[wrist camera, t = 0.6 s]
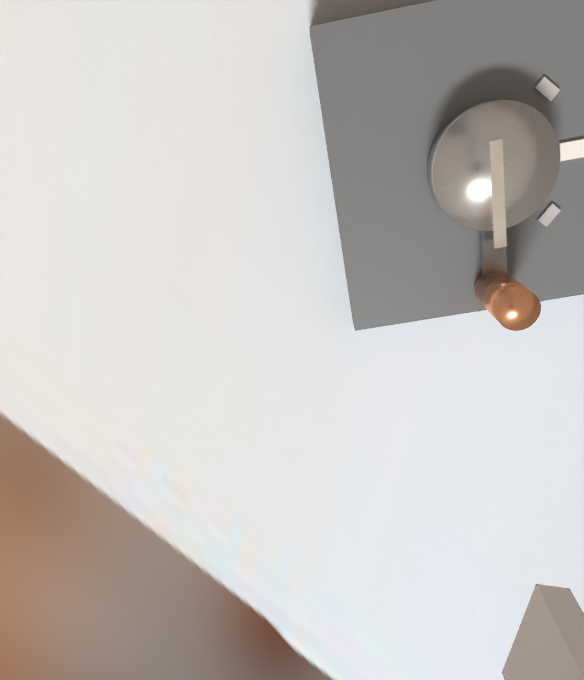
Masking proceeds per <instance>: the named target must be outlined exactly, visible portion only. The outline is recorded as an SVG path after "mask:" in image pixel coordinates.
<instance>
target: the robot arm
mask: <svg viewBox="0 0 584 680" xmlns="http://www.w3.org/2000/svg"><path fill="white" fill-rule="evenodd" d="M502 673H503V676H504V679H505V680H584V613H583V611H582V610H581V608H580V606H579V604H578V603H577V601H576V599H575V597H574V596H573V594H572V592H571V590H570V589H568V588H561V587H554V586H546V585H539V584H536V586H535V588H534V591H533V594H532V596H531V599H530V601H529V604H528V607H527V609H526V612H525V614H524V617H523V619H522V622H521V625H520V627H519V630H518V632H517V635H516V638H515V640H514V643H513V645H512V648H511V650H510V653H509V656H508V658H507V661H506V663H505V666H504V669H503V671H502Z"/></svg>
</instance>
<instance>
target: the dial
mask: <svg viewBox="0 0 584 680" xmlns="http://www.w3.org/2000/svg"><path fill="white" fill-rule="evenodd" d="M559 167H560V147H559V142H558V138H557V135H556V133H555V131H554V129H553V127H552V125H551V124H550V122H549V121H548V120H547V118H546V117H545V116H544V115H543V114H542V113H541V112H539V111H538V110H536V109H535V108H533V107H531V106H529V105H527V104H525V103H522V102H519V101H513V100H496V101H487V102H482V103H478V104H475V105H472V106H470V107H468V108H466V109H464V110H462V111H460V112H459V113H458V114H456V115H455V116H454V117H453V118H451V119H450V120H449V121H448V122H447V123H446V124H445V126H444V127H443V128H442V129H441V131H440V132H439V134H438V135H437V137H436V139H435V141H434V143H433V145H432V148H431V150H430V154H429V158H428V165H427V178H428V185H429V188H430V191H431V194H432V196H433V198H434V200H435V202H436V203H437V205H438V206H439V207H440V208H441V209H442V211H443V212H445V213H446V214H447V215H448V216H449V217H451V218H452V219H454V220H455V221H457V222H459V223H460V224H462V225H464V226H466V227H469V228H472V229H475V230H479V239H480V256H481V273H482V275H481V276H480V277H479V278H478V280H477V282H476V284H475V296H476V298H477V299H478V300H479V302H480V303H481V304H482V305H483V306H484V307H485V308H486V309H487V310H488V311H489V312H490V313H491V314H492V315H493V316H494V317H495V318H496V319H497V320H498V321H499V323H500V324H501V325H502V326H504V327H505V328H507V329H509V330H515V331H517V330H523V329H526V328H528V327H529V326H531V325H532V324H533V323H534V322H535V321H536V320H537V318H538V317H539V315H540V311H541V304H540V300H539V298H538V297H537V296H536V295H535V294H534V293H533V292H531V291H530V290H529V289H528V288H526V287H525V286H524V285H522V284H521V283H520V282H518V281H517V280H516V279H514V278H513V277H512V276H510V275H509V274H508V273H507V249H506V247H507V236H506V228H509V227H511V226H514V225H516V224H518V223H520V222H522V221H524V220H525V219H527V218H528V217H530V216H531V215H532V214H533V213H535V212H536V211H537V210H538V209H539V208H540V207H541V206H542V204H543V203H544V202H545V200H546V199H547V198H548V196H549V194H550V193H551V191H552V189H553V187H554V185H555V182H556V179H557V176H558V173H559Z"/></svg>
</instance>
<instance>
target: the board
mask: <svg viewBox="0 0 584 680" xmlns="http://www.w3.org/2000/svg"><path fill="white" fill-rule="evenodd" d="M310 37H311V44H312V50H313V57H314V64H315V70H316V77H317V84H318V91H319V97H320V104H321V111H322V117H323V124H324V131H325V137H326V144H327V151H328V158H329V164H330V171H331V178H332V184H333V191H334V198H335V204H336V211H337V218H338V224H339V231H340V238H341V245H342V251H343V258H344V265H345V271H346V278H347V285H348V291H349V298H350V305H351V312H352V318H353V323H354V328H355V331H356V330H362V329H368V328H375V327H381V326H387V325H393V324H400V323H406V322H412V321H418V320H425V319H431V318H437V317H444V316H450V315H456V314H462V313H469V312H475V311H481V310H487V309H486V308H485V307H484V306H483V305H482V304H481V303H480V302H479V300H478V299H477V298H476V296H475V284H476V282H477V280H478V278H479V277H480V276H481V275H482V273H481V256H480V239H479V230H475V229H472V228H469V227H466V226H464V225H462V224H460V223H459V222H457V221H455V220H454V219H452V218H451V217H449V216H448V215H447V214H446V213H445V212H443V211H442V209H441V208H440V207H439V206H438V205H437V203H436V202H435V200H434V198H433V196H432V194H431V191H430V188H429V185H428V178H427V165H428V158H429V154H430V150H431V148H432V145H433V143H434V141H435V139H436V137H437V135H438V134H439V132H440V131H441V129H442V128H443V127H444V126H445V124H446V123H447V122H448V121H449V120H450V119H451V118H453V117H454V116H455V115H456V114H458V113H459V112H460V111H462V110H464V109H466V108H468V107H470V106H472V105H475V104H478V103H482V102H487V101H496V100H513V101H519V102H522V103H525V104H527V105H529V106H531V107H533V108H535V109H536V110H538V111H539V112H541V113H542V114H543V115H544V116H545V117H546V118H547V120H548V121H549V122H550V124H551V125H552V127H553V129H554V131H555V133H556V135H557V138H558V142H559V147H560V167H559V173H558V176H557V179H556V182H555V185H554V187H553V189H552V191H551V193H550V194H549V196H548V198H547V199H546V200H545V202H544V203H543V204H542V206H541V207H540V208H539V209H538V210H537V211H536V212H535V213H533V214H532V215H531V216H530V217H528V218H527V219H525V220H524V221H522V222H520V223H518V224H516V225H514V226H511V227H509V228H506V236H507V247H506V249H507V273H508V274H509V275H510V276H512V277H513V278H514V279H516V280H517V281H518V282H520V283H521V284H522V285H524V286H525V287H526V288H528V289H529V290H530V291H531V292H533V293H534V294H535V295H536V296H537V297H538V298H539V300H540V301H544V300H550V299H556V298H563V297H569V296H575V295H582V294H584V0H434V1H429V2H424V3H420V4H415V5H410V6H405V7H400V8H395V9H391V10H386V11H381V12H376V13H371V14H367V15H362V16H357V17H352V18H347V19H343V20H338V21H333V22H328V23H323V24H319V25H314V26H310Z"/></svg>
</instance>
